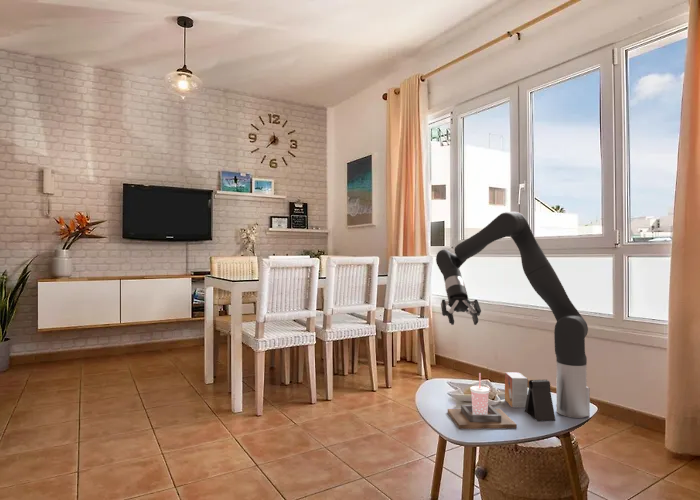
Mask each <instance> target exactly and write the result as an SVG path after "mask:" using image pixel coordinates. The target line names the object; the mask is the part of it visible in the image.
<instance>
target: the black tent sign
mask: <svg viewBox="0 0 700 500" xmlns="http://www.w3.org/2000/svg"><path fill="white" fill-rule="evenodd" d="M554 409H555V408H554V405H553V398H552V393H551V382H550V380H548V379H529V380H528V393H527V400H526V405H525V408H524V412H525V413H526V414H527V415H529V416H530V417H531V418H532V419H534V420H535V421H536V422H548V421H549V422H553V421H554V422H555V421H556V416H555V410H554Z"/></svg>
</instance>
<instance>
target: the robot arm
mask: <svg viewBox="0 0 700 500" xmlns="http://www.w3.org/2000/svg"><path fill="white" fill-rule="evenodd" d="M531 229H532V228H531V227H530V224H529V221H528V220H527V219H526V217H525V216H524V214H522V213H521V212H518V211H505V212H502V213H500V214H499V215H498V216H496V217H495V218H494V219H493V220H492V221H490V223H488V224H487V225H486V226H484V228H482V229H481V230H479V231H478V232H476V233H475V234H473V235H472V236H470V237H469V238H466V239H465V240H462V242H460V243H458V244H456V245H455V247H454V251H453V252H454V253H453V252H451V251H449V250H448V249H441V250H439V251H438V252H437V253H436V256H435V263H436V265H437V268H438V269H439V270H440V273H441V274H442V277H443V281H444V286H445V292H446V296H447V299H448V300H446V299H442V300H441V303H440V307H441V308H440V309H441V315H442V316H443V317H445V316H446V317H447V318H448V319H447V320H448V323H449V324H451V326H453V325H454V324H455V319H454V313H455V312H456V313H466V314H467V315H469V316H471V318H472V321H473V325H474V326H477V324H478V322H479V316H481V313H482V310H481V306H480V304H479V301H478V299H474V300H472V301H471V300H470V299H469V297H468V291H467V288H466V284H465V282H464V280H463V277H462V272H461V270H460V267H461V266H463V264H464V263H465V262H466V261H467V260H468V259H470V258H472V257H473V256H476V255H478V254H479V253H480V252H482V251H483V250H484V249H485V248H486V247H487V246H488V245H490V244H492V243H493V242H495V241H498V240H501V239H504V238H511V239H512V240H513V242H514V244H515V245H516V247H517V249H518V251H519V254H520V260H521V266H522V269H523V272H524V275H525V277H526V279H527V280H528V282H529V284H530V286H531V287H532V288H533V290H534V291H535V292H536V293H537V295H538V296H539V297H540V298H541V299H542V301H544V302H545V303H546V305H547V306H548V307H549V308H550V311H551V312H552V314H553V316H554V318H555V321H556V323H555V326H554V330H553V331H554V332H553V333H554V334H553V335H554V336H553V337H554V339H553V340H554V354H555V358H556V359H555V360H556V361H555V362H556V365H555V366H556V376H555V377H556V379H555V380H556V405H555V406H556V412H557V414H559V415H561V416H565V417H568V418H573V419H581V418H582V419H584V418H586V417H590V415H591V413H590V411H591V410H590V408H591V405H590V402H591V401H590V394H591V393H590V387H589V386H587V385H588V384H587V382H588V379H587V377H588V372H587V370H588V369H587V368H588V367H587V366H588V365H587V364H588V362H587V361H588V360H587V358H588V357H587V354H586V346H585V345H586V344H585V343H586V337H587V335H588V333H589V326H588V324H587V322H586V320H585V318H584V317H583V316H582V314H581V313H580V312H579V311H578V309H577V308H576V306H575V305H574V304H573V302H572V301H571V300H570V298H569V296H568V294H567V291H566V290H565V288H564V286H563V284H562V281H560V278H559V277H558V275H557V273H556V271H555V269H554V268H553V266H552V265H551V263H550V261H549V259H548V258H547V256H546V255H545V253H544V251H543V249H542V248H541V247H540V245H539V242H538V241H537V239H536V238H535V235H534V233H533V232H532V230H531ZM447 307H450V309H449V310H448V309H447Z"/></svg>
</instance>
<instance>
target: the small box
mask: <svg viewBox="0 0 700 500" xmlns="http://www.w3.org/2000/svg"><path fill="white" fill-rule="evenodd" d="M528 390H529V379H528V377H526V376H524V375H523V374H522V373H520V372H512V371H511V372H510V371H509V372H508V371H507V372H506V371H504V401H505V402H506V403H508V404H509V406H510V407H511V408H515V409H516V408H519V409H520V408H521V409H525V405H526V400H527V395H528Z"/></svg>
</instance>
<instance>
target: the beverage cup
mask: <svg viewBox="0 0 700 500" xmlns="http://www.w3.org/2000/svg"><path fill="white" fill-rule="evenodd" d="M481 375H482V374H481V372H479V373H478V385H473V386H470V387H469V388H470V389H469V390H470V392H471V405H472V412H473V415H487V413H488V405H489V394H490V388H489V387H487V386H484V385H483V386H482V383H481V382H482V381H481V380H482V379H481V378H482V376H481Z"/></svg>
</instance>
